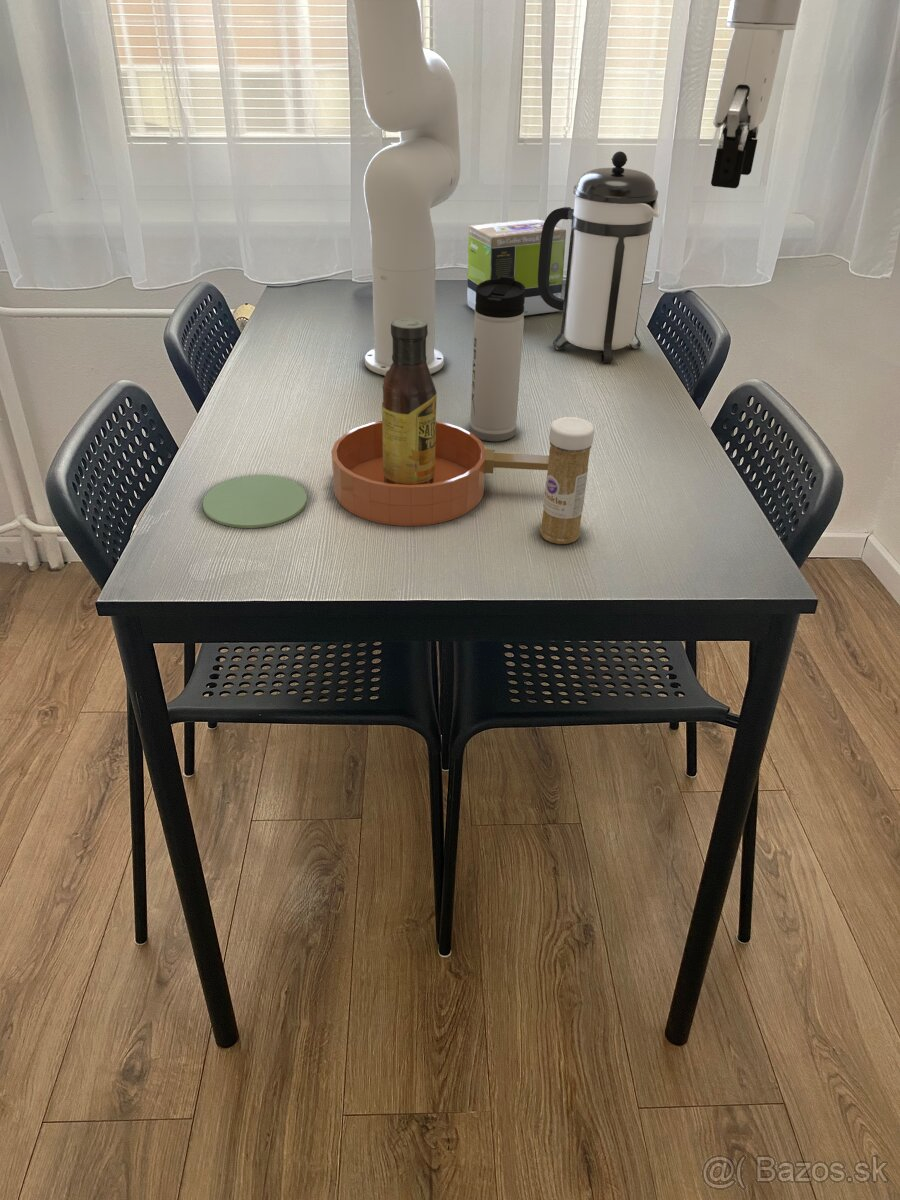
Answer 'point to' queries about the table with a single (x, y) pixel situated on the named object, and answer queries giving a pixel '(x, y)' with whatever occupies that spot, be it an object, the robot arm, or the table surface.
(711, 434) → the table surface
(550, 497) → the sprinkles bottle
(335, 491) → the pan
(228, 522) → the trivet
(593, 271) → the coffee press
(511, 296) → the travel mug
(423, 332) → the sauce bottle
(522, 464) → the pan handle
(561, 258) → the tea box
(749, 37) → the robot arm
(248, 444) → the table surface
